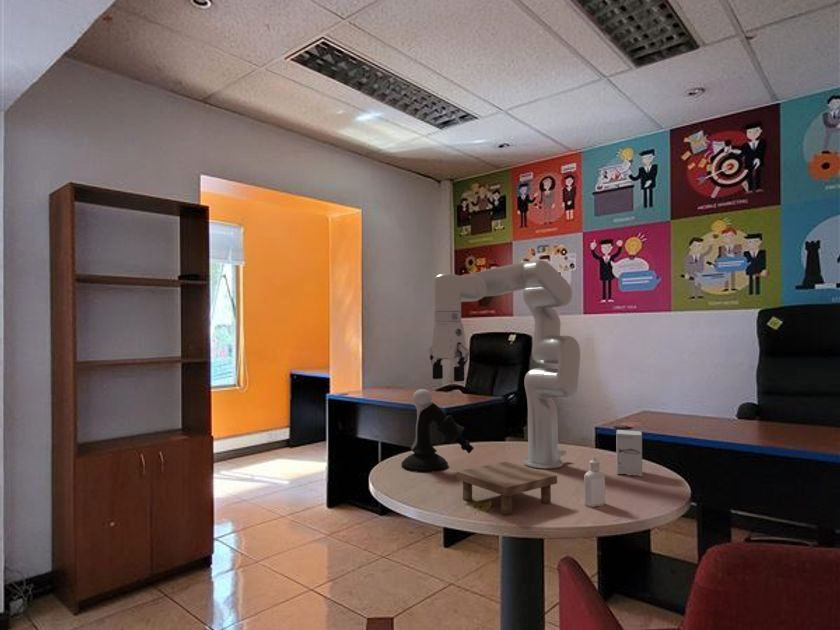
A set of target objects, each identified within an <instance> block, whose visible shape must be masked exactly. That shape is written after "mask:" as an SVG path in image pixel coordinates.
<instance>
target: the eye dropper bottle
mask: <svg viewBox="0 0 840 630" xmlns="http://www.w3.org/2000/svg"><path fill="white" fill-rule="evenodd" d="M588 461H589V462H588V463H589V464H588V466H589V467H588V469H589V470H588V471H587V472H586V473H584V477H583V478H584V479H583V486H584V487H583V490H584V491H583V492H584V494H583V498H584V502H583V503H584V505H585V506H586V507H587V506H588V507H590V508H596V507H595V506H599V507H603V506H604V505H605V504H606V475H605V473H604V472H603V471H602V470H600V461H598V460H597V457H596V455H592V458H591V460H588Z"/></svg>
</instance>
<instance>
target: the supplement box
mask: <svg viewBox="0 0 840 630" xmlns="http://www.w3.org/2000/svg"><path fill="white" fill-rule="evenodd" d="M615 434H616V438H615V439H616V440H615V441H616V443H615V444H616V446H615V447H616V475H617V474H629V475H628V476H630V475H642V476H643V432H642V431H639V430H626V429H624V430H623V429H616V433H615Z"/></svg>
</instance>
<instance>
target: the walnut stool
mask: <svg viewBox="0 0 840 630" xmlns="http://www.w3.org/2000/svg"><path fill="white" fill-rule="evenodd" d="M456 480H458V481H461V482H462V500H464V501H468V502H469V501H472V500H473V486H475V487H479V488H480V489H484V490H486V491H488V492H489V491H490V492H493V493H494V494H498V495H500V515H501V516H505V517H509V516H512V496H513V495H516V494H521V493H524V492H525V493H526V492H529V491H533V490H536V489H540V503H541V504H542V505H547V504H548V505H551V503H552V500H551V499H552V494H551V493H552V490H551V489H552V487H551V486H553V485H556V484H558V475H557V474H553V473H549V472H545V471H542V470H538V469H534V468H533V467H529V466H528V467H527V466H523V465H519V464H516V463H513V462H509V461H502V462H497V463H493V464H492V463H491V464H487V465H481V466H478V467H472V468H467V469H462V470H457V471H456Z"/></svg>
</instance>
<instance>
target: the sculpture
mask: <svg viewBox="0 0 840 630" xmlns="http://www.w3.org/2000/svg"><path fill="white" fill-rule="evenodd" d="M412 396H413V397H412V400H413V402H414V404H415V405H414V406H415V407H416V416H417V417H416V422H415V423H416V424H415V439H414V441H413V443H412V445H411V446H410V449H411V450H412V452H413V453H411V454H410V455H408V456H407V457H405V458H404V460H403V461H402V462H401V468H402V469H403V468H404V470H405V469H406V471H408V470H410V471H409V472H413V471H417V472H416V473H431V472H432V471H436V472H439V471H440V470H441V471H444V470H446V469H448V468H449V467H448V466H449V463H448V461H447V460H446V459H445V458H444V457H443V456H441V455H439V454H437V452H438V451H437V449H436V448H435V447H434V446H433V443H432V436H431V425H432V423H433V422H434V423H435V424H436V426H437V427H436V431H438V432H439V433H441V434H442V435H443V436H444V437H445V439H446V442H447V444H448V445H450V444H453V443H454V442H456V443H458V445H460V448H461V450H462V451H466V452H467V453H468V454H470V453H471V452H472V451H473V450H474V448H475V447H474V446H473V445H471V442H470V441H469V440H466V439H465V438H464V437H463V436H462V434H463V431H464V429H465V427H464V426H463V425H462V426H461V425H459V424H458V423H456V421H455V420H454V418H453V415H452V414H450V415H449V414H448V415H447V414H446V413H445V412H444V410H443V409H441V408H440V407H439V406H438V405H437V404H436V403H435V402H433V401H432V400H433V399H432V398H433V397H432V394H431V392H430V391H429V390H427V389H425V388H421V389H417V390H416V391H415V392H414V393H413V395H412ZM441 471H440V472H441ZM432 473H433V472H432Z"/></svg>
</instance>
